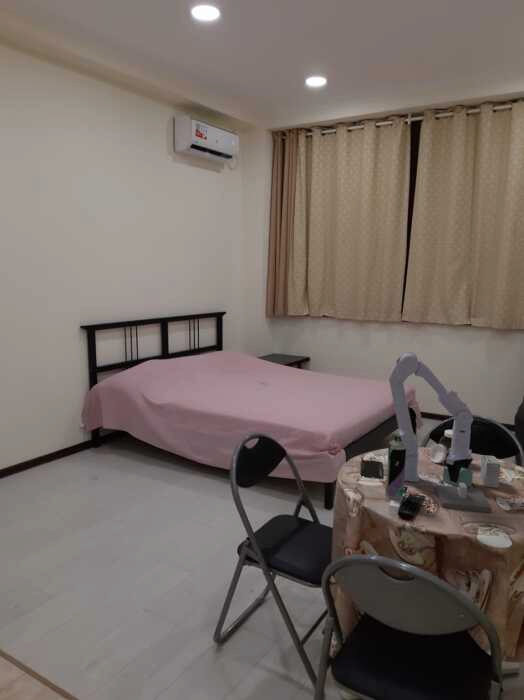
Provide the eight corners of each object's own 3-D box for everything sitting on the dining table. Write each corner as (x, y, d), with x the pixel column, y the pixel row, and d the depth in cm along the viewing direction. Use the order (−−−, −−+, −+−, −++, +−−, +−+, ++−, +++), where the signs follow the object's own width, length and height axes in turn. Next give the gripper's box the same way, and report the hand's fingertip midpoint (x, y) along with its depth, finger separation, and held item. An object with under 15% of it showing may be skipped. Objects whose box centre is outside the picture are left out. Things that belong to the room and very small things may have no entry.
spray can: (393, 500, 159) (397, 439, 156) (381, 493, 164) (385, 434, 161) (406, 497, 162) (410, 437, 159) (394, 491, 167) (398, 432, 164)
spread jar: (468, 462, 195) (471, 433, 193) (457, 470, 186) (460, 439, 185) (438, 454, 203) (440, 426, 201) (426, 461, 194) (428, 432, 193)
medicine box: (498, 488, 171) (501, 463, 170) (484, 487, 172) (487, 462, 170) (493, 479, 178) (495, 455, 177) (479, 478, 179) (481, 454, 178)
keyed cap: (464, 488, 170) (465, 474, 169) (442, 481, 175) (443, 467, 174) (471, 484, 173) (473, 470, 173) (450, 477, 179) (451, 463, 178)
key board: (441, 507, 155) (443, 491, 155) (435, 488, 169) (436, 474, 168) (490, 512, 153) (491, 496, 152) (480, 493, 166) (481, 478, 166)
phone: (382, 461, 191) (382, 476, 176) (381, 464, 191) (382, 479, 177) (360, 459, 193) (359, 474, 178) (360, 462, 193) (359, 477, 178)
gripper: (462, 449, 164) (459, 488, 166) (481, 439, 174) (478, 477, 176) (442, 443, 169) (439, 482, 171) (461, 435, 179) (458, 471, 181)
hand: (457, 479), depth 174 cm, fingers closed on keyed cap, 5 cm apart
